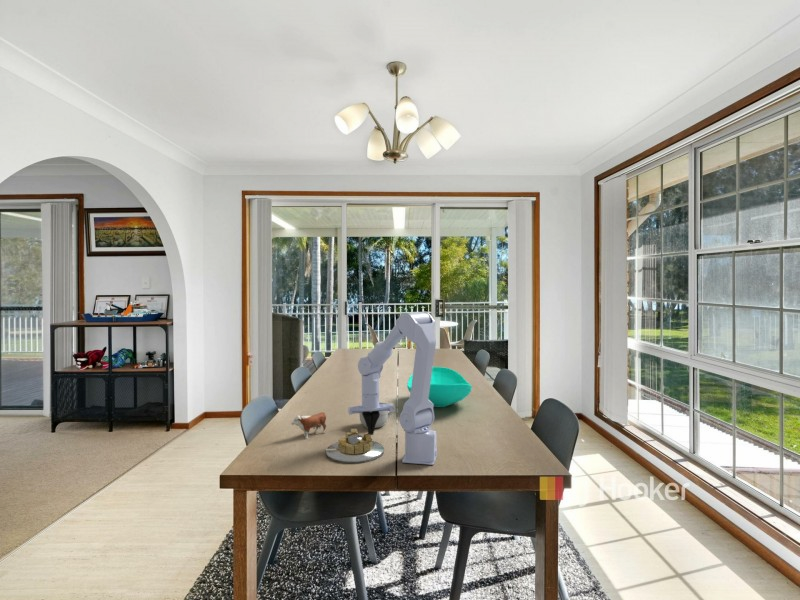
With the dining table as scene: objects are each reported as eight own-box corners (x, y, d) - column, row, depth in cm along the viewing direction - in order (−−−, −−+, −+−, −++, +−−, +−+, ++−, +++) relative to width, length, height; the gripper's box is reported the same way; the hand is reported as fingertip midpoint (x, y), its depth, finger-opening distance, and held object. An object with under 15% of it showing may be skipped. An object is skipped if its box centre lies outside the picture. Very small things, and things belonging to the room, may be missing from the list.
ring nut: (378, 439, 152) (378, 429, 152) (366, 454, 138) (366, 443, 138) (348, 437, 154) (348, 427, 154) (333, 452, 140) (333, 441, 140)
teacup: (361, 431, 165) (361, 409, 164) (356, 423, 175) (356, 402, 175) (399, 428, 168) (399, 406, 168) (392, 419, 179) (392, 399, 178)
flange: (389, 444, 151) (389, 429, 151) (375, 465, 134) (375, 449, 133) (337, 440, 155) (337, 426, 155) (317, 460, 137) (317, 444, 137)
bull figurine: (289, 439, 157) (289, 415, 157) (322, 430, 166) (322, 407, 166) (296, 442, 154) (296, 418, 153) (329, 433, 163) (329, 410, 163)
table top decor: (480, 417, 181) (480, 384, 180) (410, 419, 180) (410, 385, 179) (462, 393, 221) (462, 366, 220) (404, 394, 219) (404, 367, 219)
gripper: (388, 389, 158) (389, 428, 158) (346, 391, 154) (346, 432, 154) (394, 393, 151) (394, 434, 151) (350, 396, 147) (350, 438, 147)
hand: (370, 433), depth 152 cm, fingers closed
